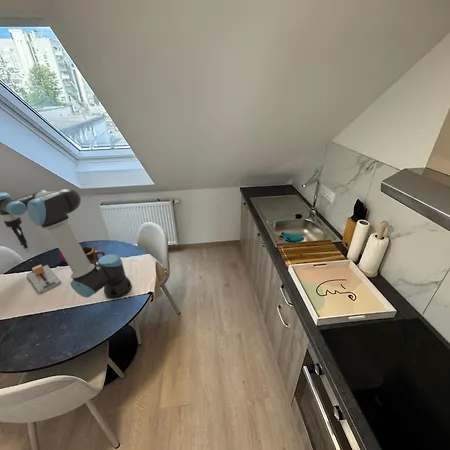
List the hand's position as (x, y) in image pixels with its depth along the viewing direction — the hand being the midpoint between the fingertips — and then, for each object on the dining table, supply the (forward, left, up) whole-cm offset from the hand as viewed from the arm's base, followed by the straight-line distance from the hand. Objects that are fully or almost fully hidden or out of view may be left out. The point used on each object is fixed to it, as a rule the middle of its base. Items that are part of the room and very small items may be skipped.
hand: (27, 251), depth 157 cm
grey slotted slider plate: (-13, 0, -16) cm, 21 cm away
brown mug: (-24, -25, -16) cm, 38 cm away
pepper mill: (-2, -18, -16) cm, 24 cm away
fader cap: (-7, 0, -14) cm, 15 cm away
